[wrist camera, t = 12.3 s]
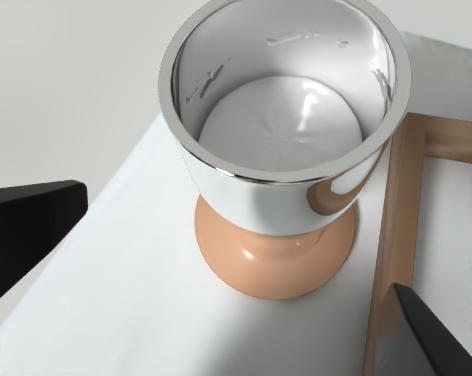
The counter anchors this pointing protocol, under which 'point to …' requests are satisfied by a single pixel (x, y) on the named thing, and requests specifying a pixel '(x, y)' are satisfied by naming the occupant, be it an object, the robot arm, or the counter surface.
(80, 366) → the counter surface
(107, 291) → the counter surface
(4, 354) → the counter surface
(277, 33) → the silver metal cup
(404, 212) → the wooden frame
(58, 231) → the robot arm
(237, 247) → the terracotta saucer
